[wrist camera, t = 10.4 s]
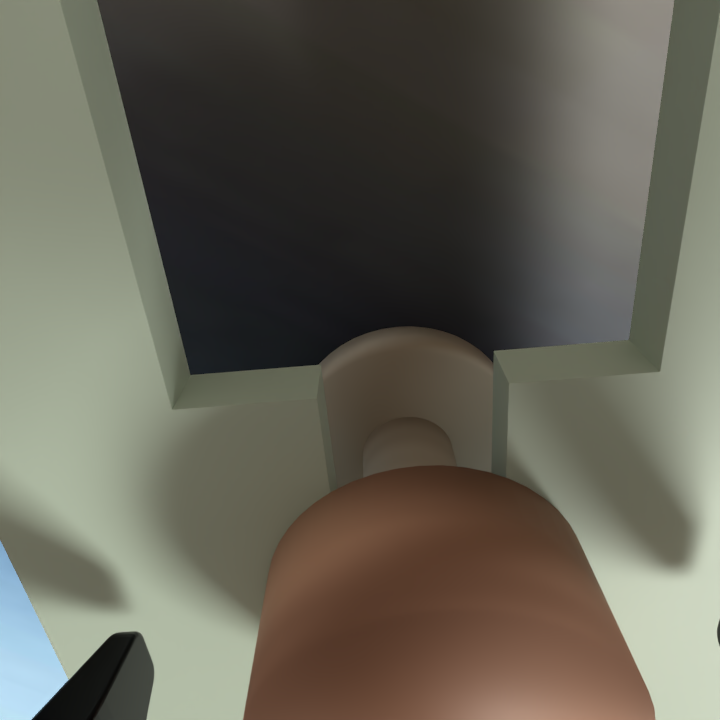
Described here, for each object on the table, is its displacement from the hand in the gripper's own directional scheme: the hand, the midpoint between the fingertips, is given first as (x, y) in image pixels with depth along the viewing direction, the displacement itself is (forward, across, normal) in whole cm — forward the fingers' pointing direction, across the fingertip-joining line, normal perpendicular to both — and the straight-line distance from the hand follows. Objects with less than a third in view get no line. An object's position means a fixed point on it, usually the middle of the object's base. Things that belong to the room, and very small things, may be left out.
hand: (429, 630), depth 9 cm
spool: (+6, 0, 0) cm, 6 cm away
